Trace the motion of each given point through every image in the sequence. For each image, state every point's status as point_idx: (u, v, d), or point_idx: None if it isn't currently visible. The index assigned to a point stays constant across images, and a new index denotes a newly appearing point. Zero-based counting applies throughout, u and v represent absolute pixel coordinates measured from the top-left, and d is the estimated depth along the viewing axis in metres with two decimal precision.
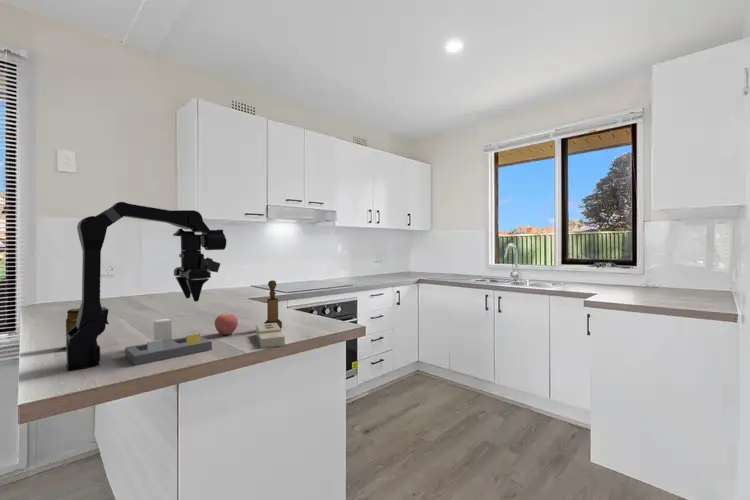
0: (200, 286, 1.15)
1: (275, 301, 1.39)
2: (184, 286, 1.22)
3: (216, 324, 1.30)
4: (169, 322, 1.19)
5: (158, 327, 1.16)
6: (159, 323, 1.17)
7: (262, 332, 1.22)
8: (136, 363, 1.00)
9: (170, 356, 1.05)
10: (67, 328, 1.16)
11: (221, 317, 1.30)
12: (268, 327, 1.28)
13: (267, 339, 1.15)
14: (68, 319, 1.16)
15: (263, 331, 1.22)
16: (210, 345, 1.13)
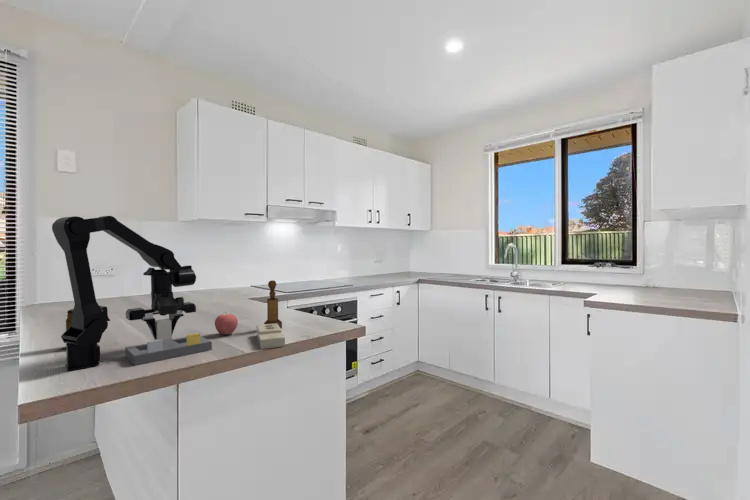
0: None
1: (275, 301, 1.39)
2: None
3: (216, 324, 1.30)
4: (169, 322, 1.19)
5: (158, 327, 1.16)
6: (159, 323, 1.17)
7: (262, 333, 1.21)
8: (136, 363, 1.00)
9: (170, 356, 1.05)
10: (67, 328, 1.16)
11: (221, 317, 1.30)
12: (268, 328, 1.27)
13: (267, 340, 1.14)
14: (68, 319, 1.16)
15: (263, 332, 1.21)
16: (210, 345, 1.13)
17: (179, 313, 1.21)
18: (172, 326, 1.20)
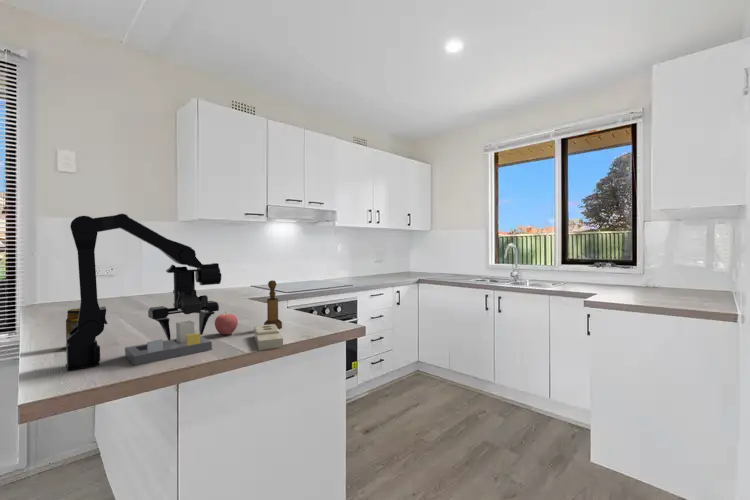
0: None
1: (275, 301, 1.39)
2: (200, 322, 1.19)
3: (216, 324, 1.30)
4: (192, 324, 1.15)
5: (181, 329, 1.13)
6: (182, 325, 1.13)
7: (260, 334, 1.20)
8: (136, 363, 1.00)
9: (170, 356, 1.05)
10: (67, 328, 1.16)
11: (221, 317, 1.30)
12: (266, 328, 1.25)
13: (265, 341, 1.13)
14: (68, 319, 1.16)
15: (261, 333, 1.20)
16: (210, 345, 1.13)
17: None
18: (203, 324, 1.18)
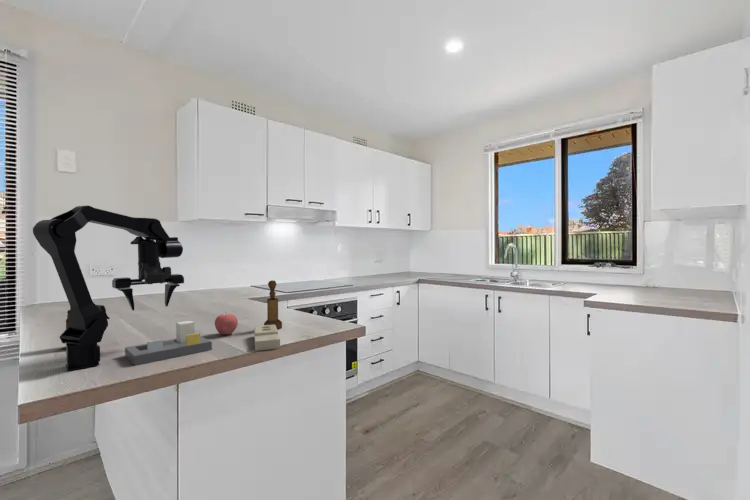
0: None
1: (275, 301, 1.39)
2: (166, 294, 1.22)
3: (216, 324, 1.30)
4: (192, 324, 1.15)
5: (181, 329, 1.13)
6: (182, 325, 1.13)
7: (258, 334, 1.19)
8: (136, 363, 1.00)
9: (170, 356, 1.05)
10: None
11: (221, 317, 1.30)
12: (265, 329, 1.25)
13: (262, 342, 1.12)
14: (68, 319, 1.16)
15: (259, 333, 1.19)
16: (210, 345, 1.13)
17: None
18: (168, 296, 1.20)
